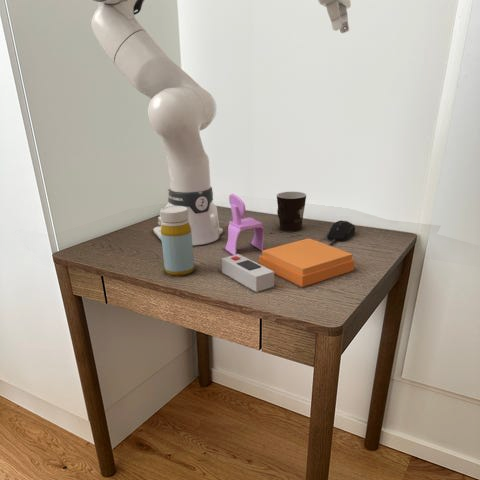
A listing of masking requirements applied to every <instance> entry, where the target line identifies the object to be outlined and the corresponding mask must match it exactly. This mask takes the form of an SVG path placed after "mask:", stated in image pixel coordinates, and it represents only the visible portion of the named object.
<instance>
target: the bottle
mask: <svg viewBox="0 0 480 480" xmlns="http://www.w3.org/2000/svg"><path fill="white" fill-rule="evenodd" d="M160 214H161V222H162V227H161V240H162V241H161V240H160V241H161V248H162V256H163V265H164V271H165V272H166V273H167V274H168V275H169V276H172V277H183V276H186V275H190V274H191V273H192V272H193V271H194V269H195V259H194V245H192V233H191V227H190V225H189V220H188V209H187V207H184V206H169V207H166V206H164V207H161V209H160V210H159V215H160Z"/></svg>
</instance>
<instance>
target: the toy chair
mask: <svg viewBox="0 0 480 480" xmlns="http://www.w3.org/2000/svg"><path fill="white" fill-rule="evenodd" d="M228 201H229V205H230V208H231V215H232V220H229V223H228V227H227V232H228V234H227V235H228V236H227V242H226V245H225V248H224V249H225V251H227V252H229V253H230V254H232V256H233V255H237V245H238V244H237V243H238V238H239V236H240V234H241V232H242V231H247V230H250V229H253V237H252V241H251V243H250V244H251V245H252V246H254V247H255V248H256V249H259V250H260V251H263V250H264V234H265V233H264V232H265V230H264V229H265V228H264V227H263V222H261V221H258V220H256V219H254V218H253V217H245V218H242V217H244V216H246V215H247V214H246V212H247V211H246V204H245V202H244V200H243V199H242V198H241V197H239V196H238V195H236V194H235V193H230V194H229V197H228Z"/></svg>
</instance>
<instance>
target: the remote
mask: <svg viewBox="0 0 480 480" xmlns="http://www.w3.org/2000/svg"><path fill="white" fill-rule="evenodd" d="M221 273H222V274H224V275H225V276H227V277H229V278H231V279H233V280H235V281H236V282H238V283H240V284H242V285H243V286H245V287H247V288H249V289H250V290H252V291H254V292H255V293H258V292H261V291H264V290H268V289H271V288H274V287H275V273H274V271H272V270H270V269H268V268H266V267H264V266H262V265H260V264H259V262H256V261H254V260H251V259H250V258H247V257H245V256H244V255H241V254H239V253H236V255H233V254H232V255H230V256H229V255H228V256H226V257H222V258H221Z"/></svg>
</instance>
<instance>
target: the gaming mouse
mask: <svg viewBox="0 0 480 480" xmlns="http://www.w3.org/2000/svg"><path fill="white" fill-rule="evenodd" d="M355 233H356V226H355V224H353V223H352V222H350V221H348V220H337V221H335V222H333V224H332V225H331V227H330V229H329V231H328V233H327V239H328V240H331V243H330V246H332V245H333V244H334V243H335V242H339V241H340V242H345V241H347V240H348V239H349V238H350V237H352V236H353V235H355Z"/></svg>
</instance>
